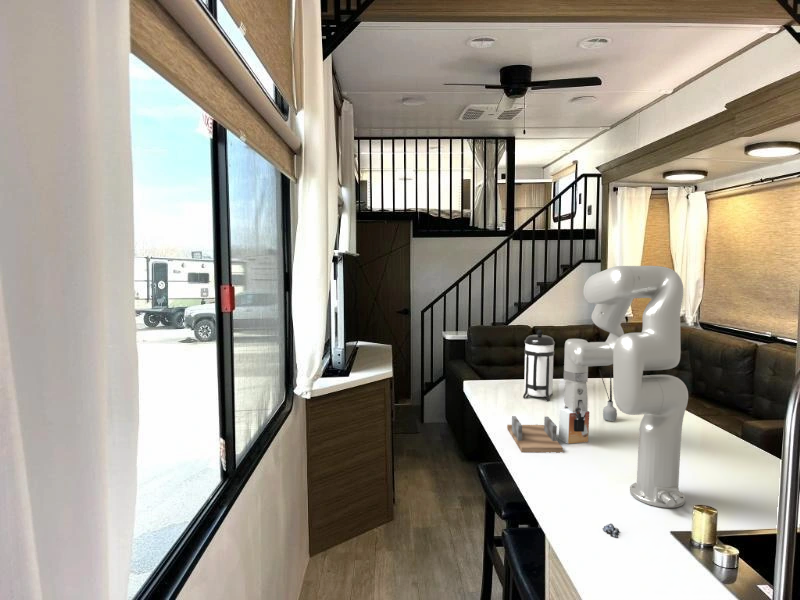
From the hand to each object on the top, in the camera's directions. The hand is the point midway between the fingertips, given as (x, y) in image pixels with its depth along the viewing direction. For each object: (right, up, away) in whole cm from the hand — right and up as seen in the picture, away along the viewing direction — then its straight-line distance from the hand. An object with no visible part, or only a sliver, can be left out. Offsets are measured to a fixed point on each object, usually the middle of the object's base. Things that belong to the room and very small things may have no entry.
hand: (573, 426), depth 169 cm
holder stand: (-13, -5, 0) cm, 14 cm away
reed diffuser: (+20, -3, +22) cm, 30 cm away
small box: (0, -5, 0) cm, 5 cm away
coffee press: (+2, -1, +52) cm, 52 cm away
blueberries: (-10, -10, -56) cm, 58 cm away
